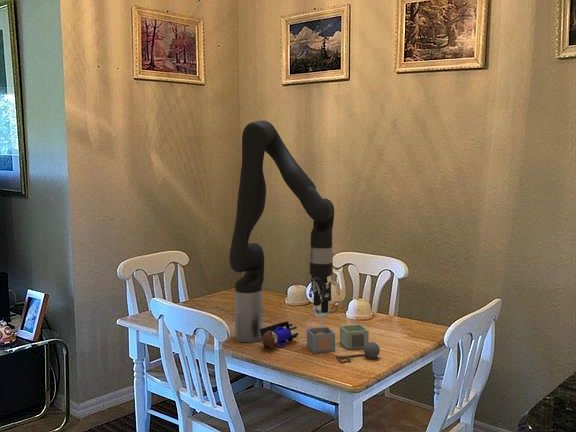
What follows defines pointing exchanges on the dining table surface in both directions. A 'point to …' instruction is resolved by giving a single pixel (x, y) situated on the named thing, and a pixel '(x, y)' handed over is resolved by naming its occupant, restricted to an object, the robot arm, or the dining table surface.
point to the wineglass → (318, 312)
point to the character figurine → (277, 334)
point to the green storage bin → (353, 336)
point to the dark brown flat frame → (353, 356)
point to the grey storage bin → (320, 340)
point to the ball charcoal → (371, 350)
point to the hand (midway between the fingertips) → (320, 308)
